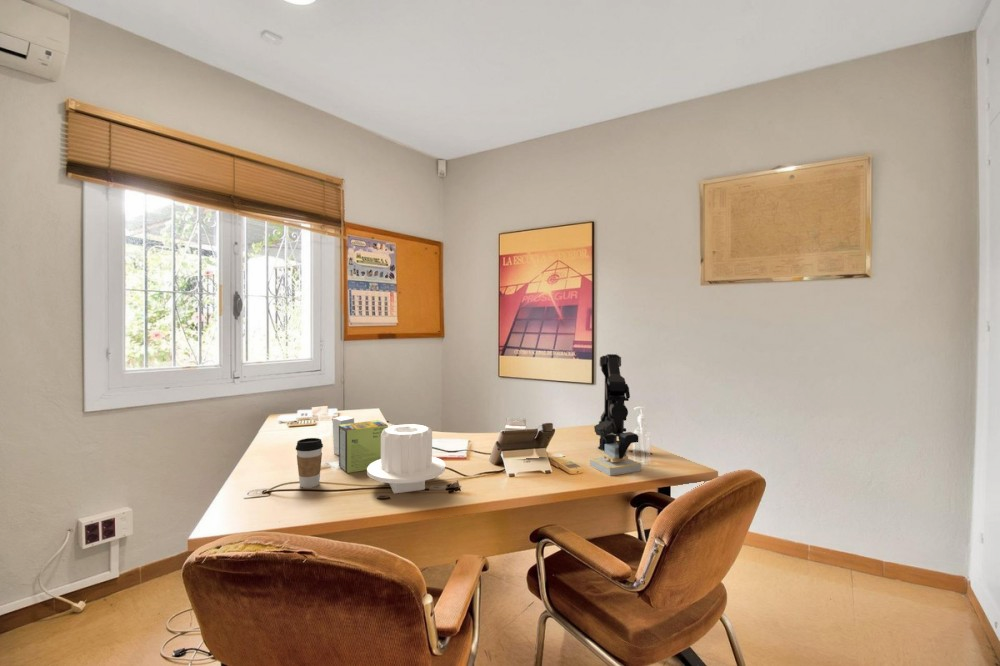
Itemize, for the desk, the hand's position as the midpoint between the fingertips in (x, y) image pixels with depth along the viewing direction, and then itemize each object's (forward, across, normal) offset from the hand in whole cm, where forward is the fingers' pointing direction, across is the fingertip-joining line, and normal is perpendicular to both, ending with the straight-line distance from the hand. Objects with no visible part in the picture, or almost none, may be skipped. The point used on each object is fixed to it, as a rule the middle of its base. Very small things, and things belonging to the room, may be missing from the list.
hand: (615, 456), depth 173 cm
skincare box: (+5, -57, -90) cm, 107 cm away
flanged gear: (+5, -12, -75) cm, 76 cm away
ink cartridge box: (+5, -29, -27) cm, 40 cm away
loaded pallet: (+1, 0, 0) cm, 1 cm away
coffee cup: (+5, -26, -104) cm, 107 cm away
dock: (+4, 0, 0) cm, 5 cm away
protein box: (+5, -39, -85) cm, 94 cm away
